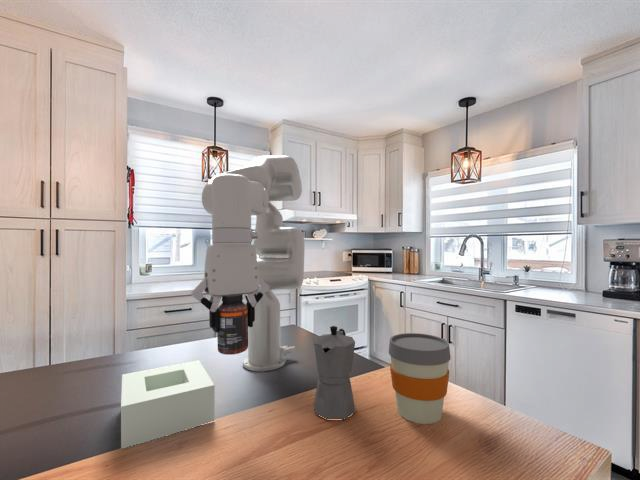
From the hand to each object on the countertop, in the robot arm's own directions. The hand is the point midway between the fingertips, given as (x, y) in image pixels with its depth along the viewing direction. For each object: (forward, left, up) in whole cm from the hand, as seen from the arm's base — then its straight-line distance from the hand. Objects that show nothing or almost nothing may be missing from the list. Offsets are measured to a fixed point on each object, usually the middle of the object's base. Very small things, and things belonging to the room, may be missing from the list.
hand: (232, 327), depth 64 cm
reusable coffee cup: (-35, +16, -20) cm, 43 cm away
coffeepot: (-21, +5, -20) cm, 29 cm away
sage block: (+11, -11, -19) cm, 25 cm away
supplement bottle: (0, 0, -5) cm, 5 cm away
